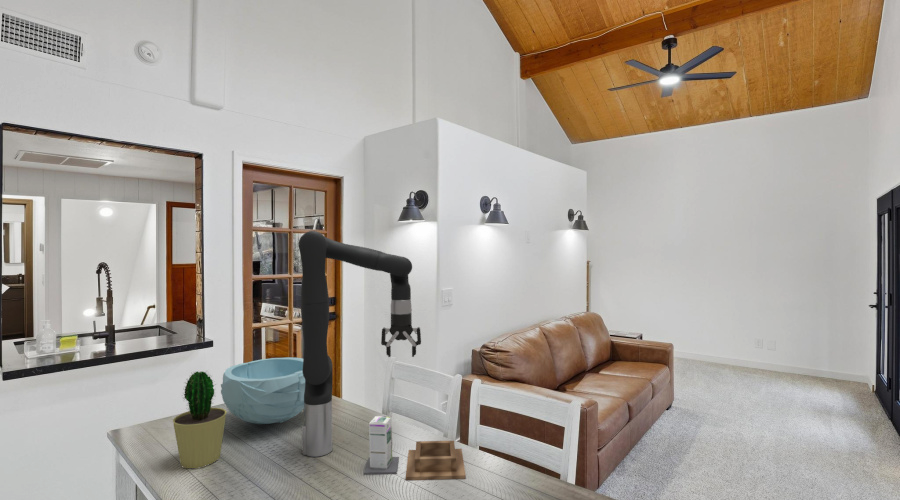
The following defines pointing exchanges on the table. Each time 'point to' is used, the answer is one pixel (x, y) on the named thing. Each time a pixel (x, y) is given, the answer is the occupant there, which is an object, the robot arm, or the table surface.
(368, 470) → the felt pad
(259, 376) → the bowl
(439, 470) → the collar stand
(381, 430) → the syrup box
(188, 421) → the potted cactus
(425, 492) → the table surface
